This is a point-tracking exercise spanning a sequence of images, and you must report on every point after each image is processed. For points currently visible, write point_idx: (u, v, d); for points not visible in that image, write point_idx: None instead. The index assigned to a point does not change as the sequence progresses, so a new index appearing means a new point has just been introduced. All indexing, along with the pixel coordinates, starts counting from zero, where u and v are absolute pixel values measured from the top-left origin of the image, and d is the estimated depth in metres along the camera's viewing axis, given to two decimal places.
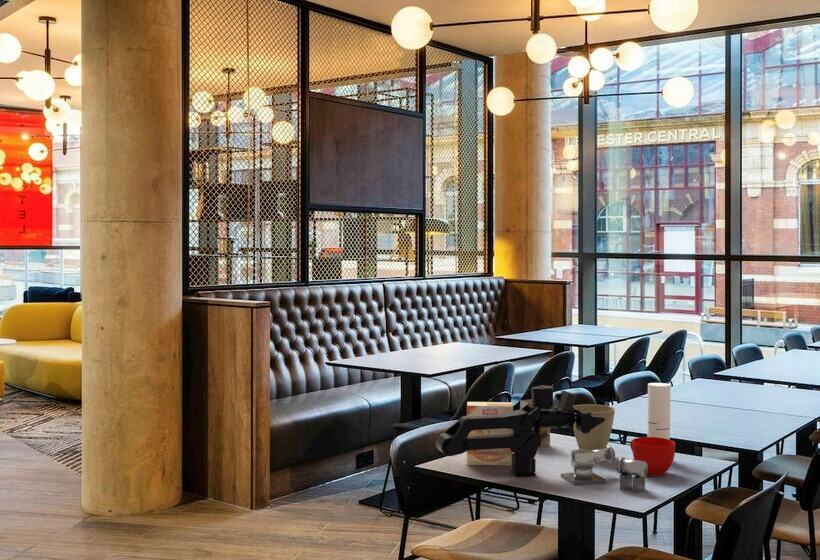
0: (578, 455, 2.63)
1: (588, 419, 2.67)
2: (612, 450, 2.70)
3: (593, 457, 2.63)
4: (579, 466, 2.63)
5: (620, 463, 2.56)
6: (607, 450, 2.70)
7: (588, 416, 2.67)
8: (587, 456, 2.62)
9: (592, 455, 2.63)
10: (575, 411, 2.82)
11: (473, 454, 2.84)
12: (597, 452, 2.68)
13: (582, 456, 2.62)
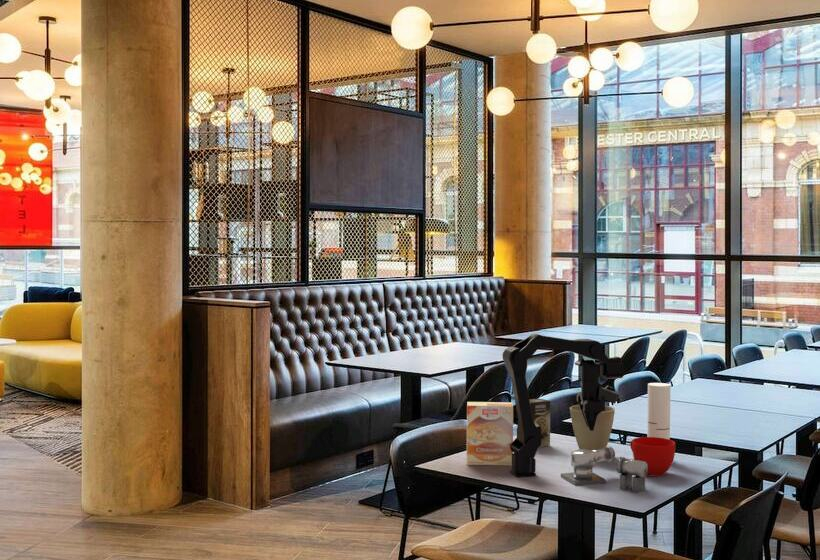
0: (578, 455, 2.63)
1: (599, 409, 2.67)
2: (612, 450, 2.70)
3: (593, 457, 2.63)
4: (579, 466, 2.63)
5: (620, 463, 2.56)
6: (607, 450, 2.70)
7: (602, 409, 2.67)
8: (587, 456, 2.62)
9: (592, 455, 2.63)
10: None
11: (473, 454, 2.84)
12: (597, 452, 2.68)
13: (582, 456, 2.62)
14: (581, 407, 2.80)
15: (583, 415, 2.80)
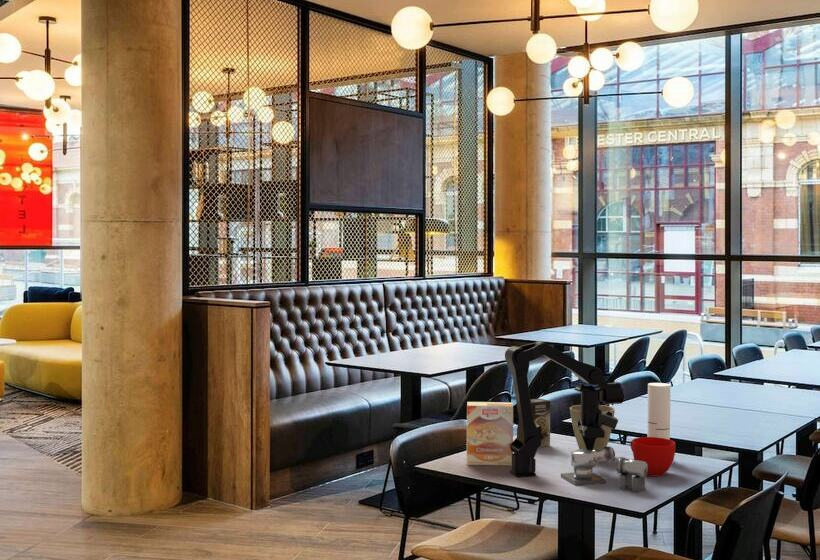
0: (578, 455, 2.63)
1: (598, 435, 2.68)
2: (612, 450, 2.70)
3: (593, 457, 2.63)
4: (579, 466, 2.63)
5: (620, 463, 2.56)
6: (607, 450, 2.70)
7: (602, 435, 2.68)
8: (587, 456, 2.62)
9: (592, 455, 2.63)
10: None
11: (473, 454, 2.84)
12: (597, 452, 2.68)
13: (582, 456, 2.62)
14: None
15: (584, 442, 2.78)
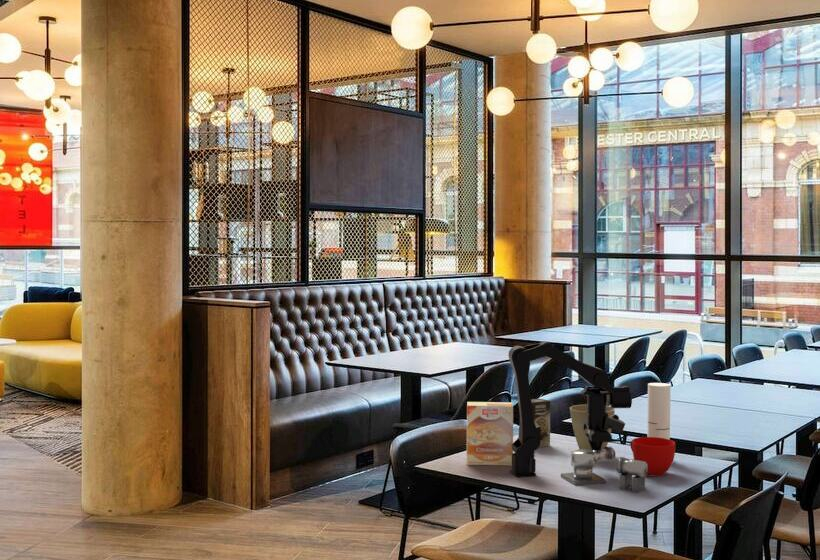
0: (578, 455, 2.63)
1: (606, 440, 2.64)
2: (612, 450, 2.70)
3: (593, 457, 2.63)
4: (579, 466, 2.63)
5: (620, 463, 2.56)
6: (607, 450, 2.70)
7: (609, 440, 2.64)
8: (587, 456, 2.62)
9: (592, 455, 2.63)
10: None
11: (473, 454, 2.84)
12: (597, 452, 2.67)
13: (582, 456, 2.62)
14: None
15: None
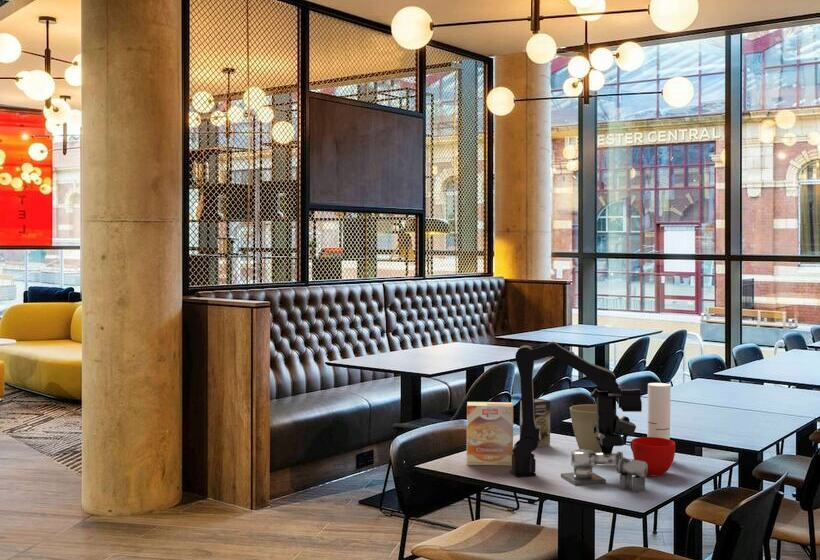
0: (572, 453, 2.64)
1: (617, 444, 2.58)
2: (621, 456, 2.63)
3: (587, 458, 2.62)
4: (573, 465, 2.64)
5: (620, 463, 2.56)
6: (615, 455, 2.64)
7: (620, 444, 2.58)
8: (579, 456, 2.62)
9: (585, 456, 2.62)
10: None
11: (473, 454, 2.84)
12: (600, 455, 2.64)
13: (575, 455, 2.63)
14: None
15: None
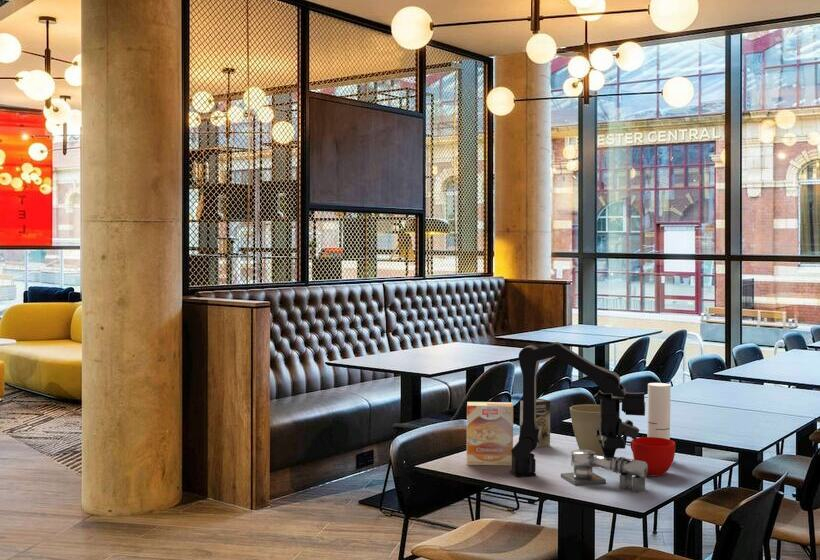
0: (571, 452, 2.67)
1: (619, 446, 2.55)
2: (613, 461, 2.57)
3: (579, 458, 2.62)
4: None
5: (620, 463, 2.56)
6: (609, 459, 2.58)
7: (622, 446, 2.55)
8: (573, 454, 2.64)
9: (577, 455, 2.63)
10: None
11: (473, 454, 2.84)
12: (596, 457, 2.61)
13: (571, 453, 2.66)
14: (601, 444, 2.65)
15: (603, 453, 2.65)
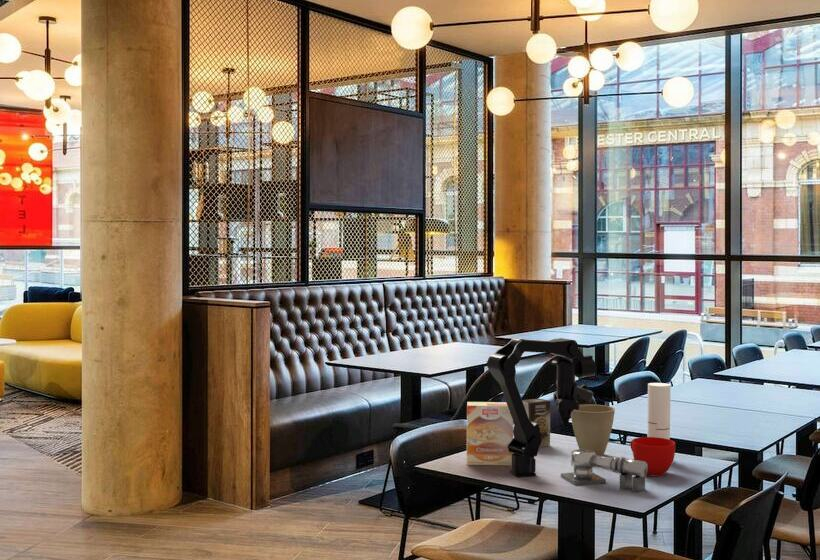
0: (571, 452, 2.67)
1: (573, 408, 2.70)
2: (613, 461, 2.57)
3: (579, 458, 2.62)
4: None
5: (620, 463, 2.56)
6: (609, 459, 2.58)
7: (576, 408, 2.70)
8: (573, 454, 2.64)
9: (577, 455, 2.63)
10: None
11: (473, 454, 2.84)
12: (596, 457, 2.61)
13: (571, 453, 2.66)
14: None
15: (560, 415, 2.80)
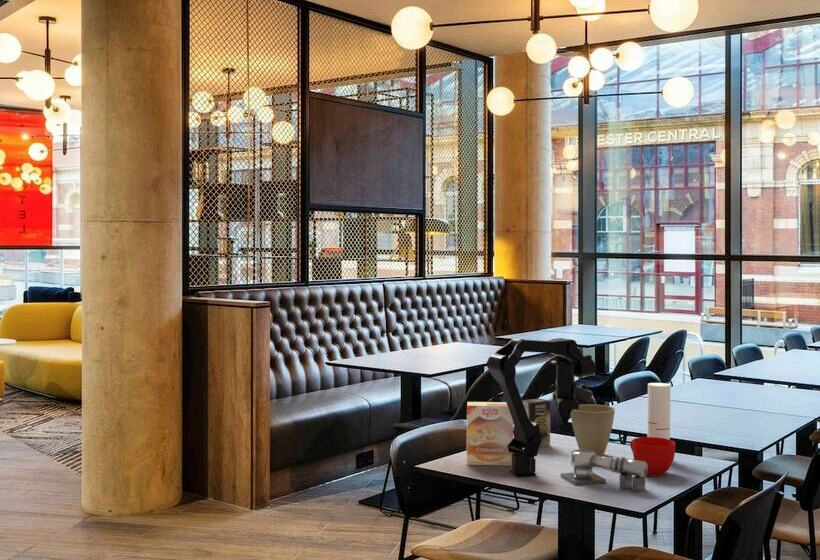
0: (571, 452, 2.67)
1: (573, 407, 2.70)
2: (613, 461, 2.57)
3: (579, 458, 2.62)
4: None
5: (620, 463, 2.56)
6: (609, 459, 2.58)
7: (576, 407, 2.70)
8: (573, 454, 2.64)
9: (577, 455, 2.63)
10: None
11: (473, 454, 2.84)
12: (596, 457, 2.61)
13: (571, 453, 2.66)
14: (557, 407, 2.81)
15: None
